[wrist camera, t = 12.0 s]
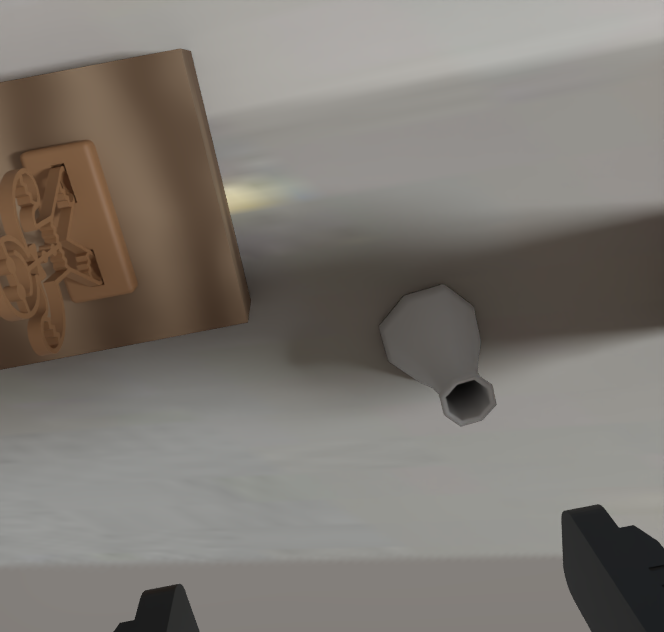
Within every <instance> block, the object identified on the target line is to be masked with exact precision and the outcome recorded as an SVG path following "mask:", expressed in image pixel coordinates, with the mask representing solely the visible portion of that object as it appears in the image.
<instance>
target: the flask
mask: <svg viewBox="0 0 664 632" xmlns="http://www.w3.org/2000/svg"><path fill="white" fill-rule="evenodd" d="M379 330H380V333H381V337H382V340H383V344H384V348H385V351H386V355H387V358H388V361H389V362H390V363H392V364H393V365H395V366H396V367H398V368H399V369H401V370H402V371H404V372H405V373H407V374H408V375H409V376H411V377H412V378H414V379H415V380H417V381H418V382H420V383H422V384H424V385H427V386H429V387H431V388H433V389H434V390H435V391H436V392H437V393H438V394H439V397H440V401H441V405H442V409H443V413H444V415H445V416H446V417H447V418H449V419H450V420H452V421H453V422H455V423H456V424H458V425H459V426H464V425H468V424H471V423H475V422H478V421H482V420H483V419H484V418H485V417H486V416H487V415H488V413H489V412H490V411H491V410H492V409H493V408H494V407H495V406H496V400H495V395H494V390H493V386H492V384H490V383H489V382H488V381H486V380H485V379H483V378H482V377H481V376H480V375H479V374H478V359H479V353H480V347H481V339H480V334H479V329H478V325H477V320H476V315H475V310H474V306H472V305H471V304H470V303H468V302H467V301H466V300H464V299H463V298H462V297H460V296H459V295H458V294H456V293H455V292H454V291H452V290H451V289H450V288H448V287H447V286H446V285H444V284H442V285H439V286H435V287H432V288H428V289H425V290H422V291H418V292H415V293H411V294H408V295H405V296H403V298H402V299H401V300H400V301H399V302H398V304H397V305H396V306H395V307H394V309H393V310H392V311H391V312H390V313H389V315H388V316H387V317H386V318H385V319H384V321H383V322H382V323H381V324H380V325H379Z"/></svg>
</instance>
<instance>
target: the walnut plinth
mask: <svg viewBox="0 0 664 632" xmlns="http://www.w3.org/2000/svg"><path fill="white" fill-rule="evenodd" d="M83 140H90V141H92V142H93V143H94V145H95V148H96V151H97V154H98V157H99V161H100V164H101V167H102V170H103V173H104V177H105V180H106V183H107V186H108V189H109V193H110V196H111V199H112V202H113V205H114V209H115V212H116V215H117V218H118V221H119V225H120V228H121V231H122V234H123V237H124V241H125V244H126V247H127V250H128V253H129V257H130V260H131V263H132V266H133V269H134V273H135V276H136V279H137V282H138V286H137V288H136V289H135V291H134V292H132V293H129V294H123V295H118V296H113V297H108V298H102V299H97V300H92V301H86V302H81V303H74V302H72V301H71V299H70V296H69V293H68V291H67V288H66V285H65V282H64V280H62V281H61V282H60V283H59V287H60V290H61V294H62V297H63V302H64V308H65V318H66V328H65V336H64V341H63V344H62V346H61V348H60V350H59V351H58V352H57V353H56V354H50V355H45V356H39V355H38V354H36V353H35V351H34V350H33V348H32V346H31V344H30V341H29V338H28V331H27V326H28V321H29V319H24V320H19V321H13V322H11V321H7V320H5V319H3V318H2V317H0V370H1V369H7V368H12V367H17V366H22V365H28V364H33V363H38V362H43V361H49V360H54V359H59V358H64V357H69V356H75V355H80V354H85V353H90V352H96V351H101V350H106V349H111V348H117V347H122V346H127V345H132V344H138V343H143V342H148V341H153V340H158V339H164V338H169V337H174V336H179V335H185V334H190V333H195V332H200V331H206V330H211V329H216V328H221V327H226V326H232V325H237V324H242V323H247V322H248V318H249V311H250V303H251V299H250V295H249V291H248V286H247V282H246V278H245V274H244V270H243V266H242V262H241V257H240V253H239V249H238V245H237V241H236V237H235V232H234V228H233V224H232V220H231V216H230V212H229V208H228V203H227V199H226V195H225V191H224V187H223V183H222V179H221V174H220V170H219V166H218V162H217V158H216V154H215V150H214V145H213V141H212V137H211V133H210V129H209V125H208V121H207V116H206V112H205V108H204V104H203V100H202V96H201V91H200V87H199V83H198V79H197V75H196V71H195V67H194V62H193V58H192V54H191V51H188V50H184V49H176V50H170V51H165V52H160V53H154V54H149V55H144V56H138V57H133V58H128V59H122V60H117V61H112V62H106V63H101V64H96V65H91V66H85V67H80V68H75V69H69V70H64V71H59V72H53V73H48V74H43V75H37V76H32V77H27V78H21V79H16V80H11V81H5V82H0V183H1V179H2V178H3V176H4V174H5V173H6V172H8V171H11V170H16V169H21V168H23V166H22V163H21V160H20V156H21V154H22V153H24V152H27V151H30V150H35V149H40V148H46V147H51V146H56V145H62V144H67V143H72V142H77V141H83ZM15 203H16V211H17V216H18V220H19V224H20V227H21V230H22V233H23V236H24V238H25V241H26V243H27V245H28V244H33V243H34V244H35V245H36V249H37V251H39V246H43V245H44V242H45V240H44V239H43V238H42V232H41V231H40V230H39V229H38V230H34V231H29V232H24V231H23V229H22V226H21V223H20V217H19V213H20V209H21V207H20V206H18V203H17V198H15ZM39 216H40V213H39V210H38V208H37V209H36V211H35V220H36V219H37V218H39ZM0 236H6V233H5V230H4V227H3V223H2V219H1V214H0ZM6 250H7V249H6ZM7 251H8V250H7ZM41 266H42V268H43V269H44V271H45V272H46V278H45V279H44V280H43V281H41V283H42V286H43V289H44V291H45V288H44V285H43V282H44V281H46V280H47V279H48V278H49V277H50V276H51V275H52V274H54V273H55V272H56V271H55V270H54V269H53V263H52V262H51V261H50V257H48V262H47V263H43V264H41ZM0 283H1V286H2V289H3V288H4V287H5V286H10V284H9V282H8V279H7V277H6V275H5V276H0ZM45 294H46V291H45ZM46 297H47V294H46ZM47 300H48V297H47ZM11 305H12V306H13V307H14V308H15V309H16V310H18V311H20V310H19V307H18V305H17V302H12V303H11ZM48 307H49V311H48V316H47V317H50V319H51V313H50V306H49V301H48Z"/></svg>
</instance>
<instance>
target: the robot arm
mask: <svg viewBox="0 0 664 632" xmlns="http://www.w3.org/2000/svg"><path fill="white" fill-rule="evenodd" d="M561 520H562V546H563V568H564V573H565V578H566V581H567V585H568V587H569V590H570V593H571V595H572V597H573V599H574V601H575V603H576V605H577V606H578V608H579V610H580V612H581V614H582V615H583V617H584V619H585V621H586V623H587V624H588V626H589V628H590V630H591V632H664V548H663V547H662V546H661V544H660V543H659V542H658V541H657V540H655V539H654V538H652V537H651V536H649V535H648V534H646V533H645V532H643V531H642V530H640V529H639V528H637V527H636V526H634V525H632V526H627V527H622V528H619V527H618V526H617V525H616V523H615V522H614V521H613V519H612V518H611V517H610V515H609V514H608V513H607V511H606V510H605V509H604V508H603V507H602V506H601V505H599V504H597V505H592V506H587V507H582V508H577V509H572V510H566V511H563V512H562V518H561ZM114 632H199V629H198V626H197V623H196V620H195V618H194V615H193V612H192V609H191V606H190V603H189V601H188V598H187V595H186V592H185V589H184V587H183V586H182V585H181V584H176V585H171V586H166V587H161V588H156V589H150V590H145V591H144V592H143V593H142V595H141V598H140V602H139V605H138V609H137V613H136V617H135V620H133V621H128V622H122V623H120V624H119V625H118V626H117V628H116V629H115V631H114Z"/></svg>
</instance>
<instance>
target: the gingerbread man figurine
mask: <svg viewBox="0 0 664 632" xmlns="http://www.w3.org/2000/svg"><path fill="white" fill-rule="evenodd" d="M20 160H21V163H22V166H23V168H21V169H16V170H11V171H8V172H6V173H5V174H4V176H3V178H2V179H1V183H0V214H1V219H2V223H3V227H4V230H5V233H6V236H0V276H5V275H6V277H7V279H8V282H9V284H10V286H5V287H4V288H3V289H2V286H1V283H0V317H2V318H3V319H5V320H7V321H11V322H13V321H19V320H24V319H29V321H28V326H27V331H28V338H29V341H30V344H31V346H32V348H33V350H34V351H35V353H36V354H38V355H39V356H45V355H50V354H56V353H57V352H58V351H59V350H60V348H61V346H62V344H63V341H64V336H65V328H66V318H65V308H64V302H63V297H62V294H61V290H60V287H59V283H60V282H61V281H62V280H64V282H65V285H66V288H67V291H68V293H69V296H70V299H71V301H72V302H74V303H81V302H86V301H92V300H97V299H102V298H108V297H113V296H118V295H123V294H129V293H132V292H134V291H135V289H136V288H137V286H138V282H137V279H136V276H135V273H134V269H133V266H132V263H131V260H130V257H129V253H128V250H127V247H126V244H125V241H124V237H123V234H122V231H121V228H120V225H119V221H118V218H117V215H116V212H115V209H114V205H113V202H112V199H111V196H110V193H109V189H108V186H107V183H106V180H105V177H104V173H103V170H102V167H101V164H100V161H99V157H98V154H97V151H96V148H95V145H94V143H93V142H92V141H90V140H83V141H77V142H72V143H67V144H62V145H56V146H51V147H46V148H40V149H35V150H30V151H27V152H24V153H22V154H21V156H20ZM15 198H17V203H18V206H20V207H21V209H20V213H19V217H20V223H21V226H22V229H23V231H24V232H29V231H34V230H38V229H39V230H40V231H41V232H42V238H43V239H44V240H45V242H44V245H43V246H39V251H37V249H36V245H35V244H34V243H33V244H28V245H27V243H26V241H25V238H24V236H23V233H22V230H21V227H20V224H19V220H18V216H17V211H16V203H15ZM37 208H38V210H39V213H40V216H39V218H37V219H36V220H35V211H36V209H37ZM6 249H7V250H8V251H7V250H6ZM48 257H50V261H51V262H52V263H53V269H54V270H55V271H56V272H55V273H54V274H52V275H51V276H50V277H49V278H48V279H47V280H46V281H44V282H43V285H44V288H45V291H46V294H47V297H48V300H47V297H46V294H45V291H44V289H43V286H42V283H41V281H43V280H44V279H45V278H46V272H45V271H44V269H43V268H42V266H41V264H43V263H47V262H48ZM48 301H49V306H50V313H51V319H50V317H47V316H48V311H49V307H48ZM12 302H17V305H18V307H19V310H20V311H18V310H16V309H15V308H14V307H13V306H12V305H11V303H12Z"/></svg>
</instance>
